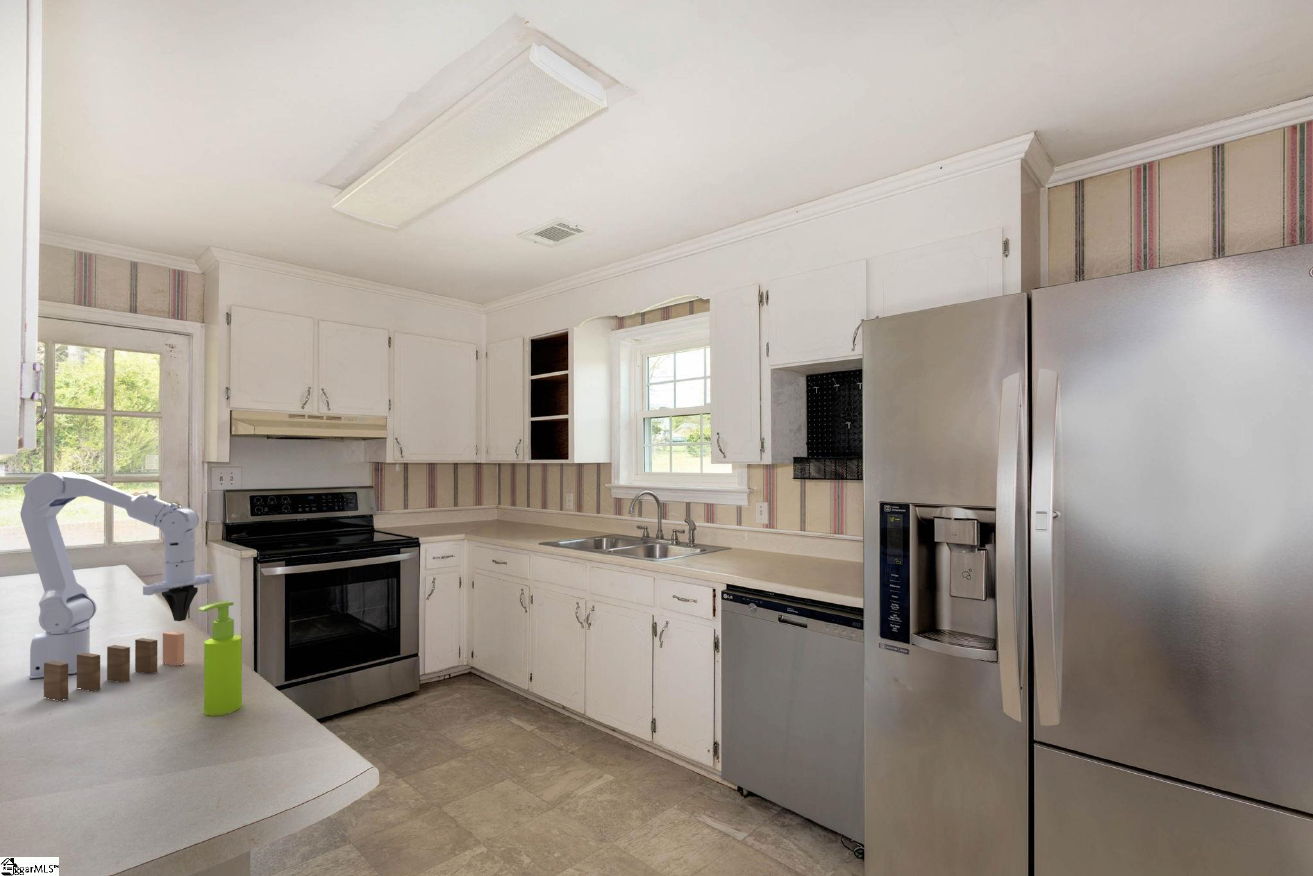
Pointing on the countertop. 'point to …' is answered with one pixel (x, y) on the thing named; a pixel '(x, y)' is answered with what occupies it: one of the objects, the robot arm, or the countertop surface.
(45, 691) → the end tile
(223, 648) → the soap dispenser
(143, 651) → the tile
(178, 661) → the lead tile
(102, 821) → the countertop surface
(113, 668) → the tile
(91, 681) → the tile
